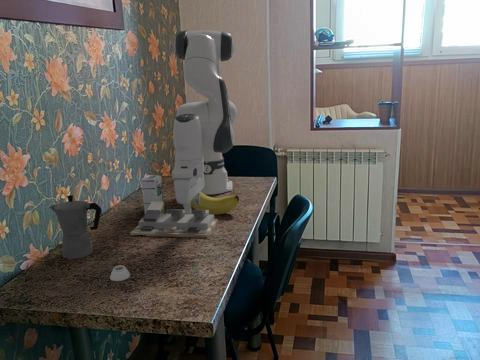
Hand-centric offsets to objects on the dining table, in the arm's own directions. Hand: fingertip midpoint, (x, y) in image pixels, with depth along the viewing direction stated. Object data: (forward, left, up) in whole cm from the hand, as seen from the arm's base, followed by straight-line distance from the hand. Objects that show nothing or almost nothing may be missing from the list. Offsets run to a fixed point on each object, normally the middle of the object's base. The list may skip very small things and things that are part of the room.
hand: (192, 209), depth 139 cm
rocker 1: (-8, -16, -5) cm, 18 cm away
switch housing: (-7, -8, -9) cm, 14 cm away
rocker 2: (-7, -8, -5) cm, 12 cm away
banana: (-22, 0, -9) cm, 23 cm away
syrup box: (-20, -21, -9) cm, 30 cm away
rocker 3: (-7, 0, -5) cm, 8 cm away
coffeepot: (+17, -30, -9) cm, 36 cm away
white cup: (+31, -11, -9) cm, 34 cm away
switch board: (-5, -8, -9) cm, 13 cm away
